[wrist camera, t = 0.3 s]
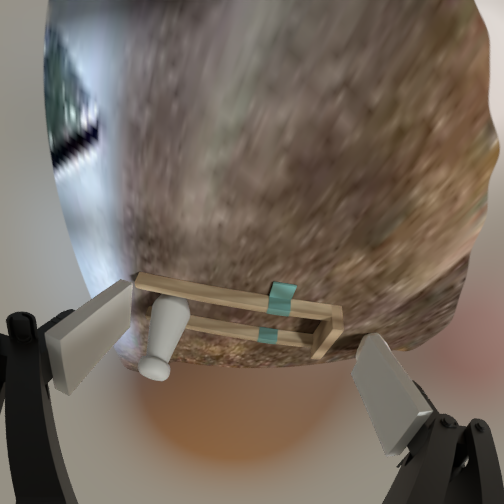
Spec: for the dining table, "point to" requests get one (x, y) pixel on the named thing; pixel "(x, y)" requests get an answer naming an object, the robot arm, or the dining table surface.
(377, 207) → the dining table surface
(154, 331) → the salt shaker
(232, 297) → the guide rails
